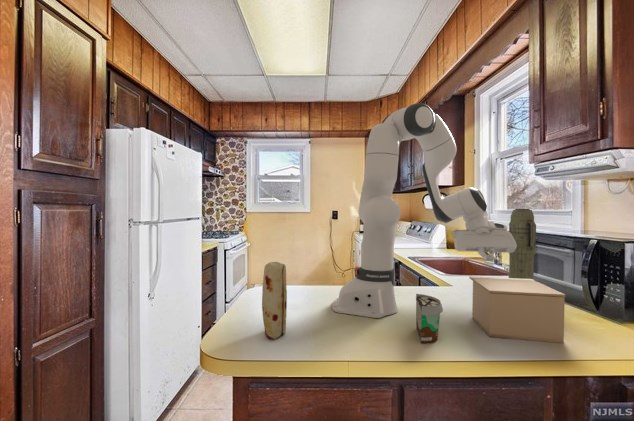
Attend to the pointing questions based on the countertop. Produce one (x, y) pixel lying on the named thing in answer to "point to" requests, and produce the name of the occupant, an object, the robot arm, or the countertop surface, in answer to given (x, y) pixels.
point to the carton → (519, 315)
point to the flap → (515, 286)
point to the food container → (427, 318)
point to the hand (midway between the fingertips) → (489, 260)
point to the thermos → (522, 244)
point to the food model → (274, 299)
